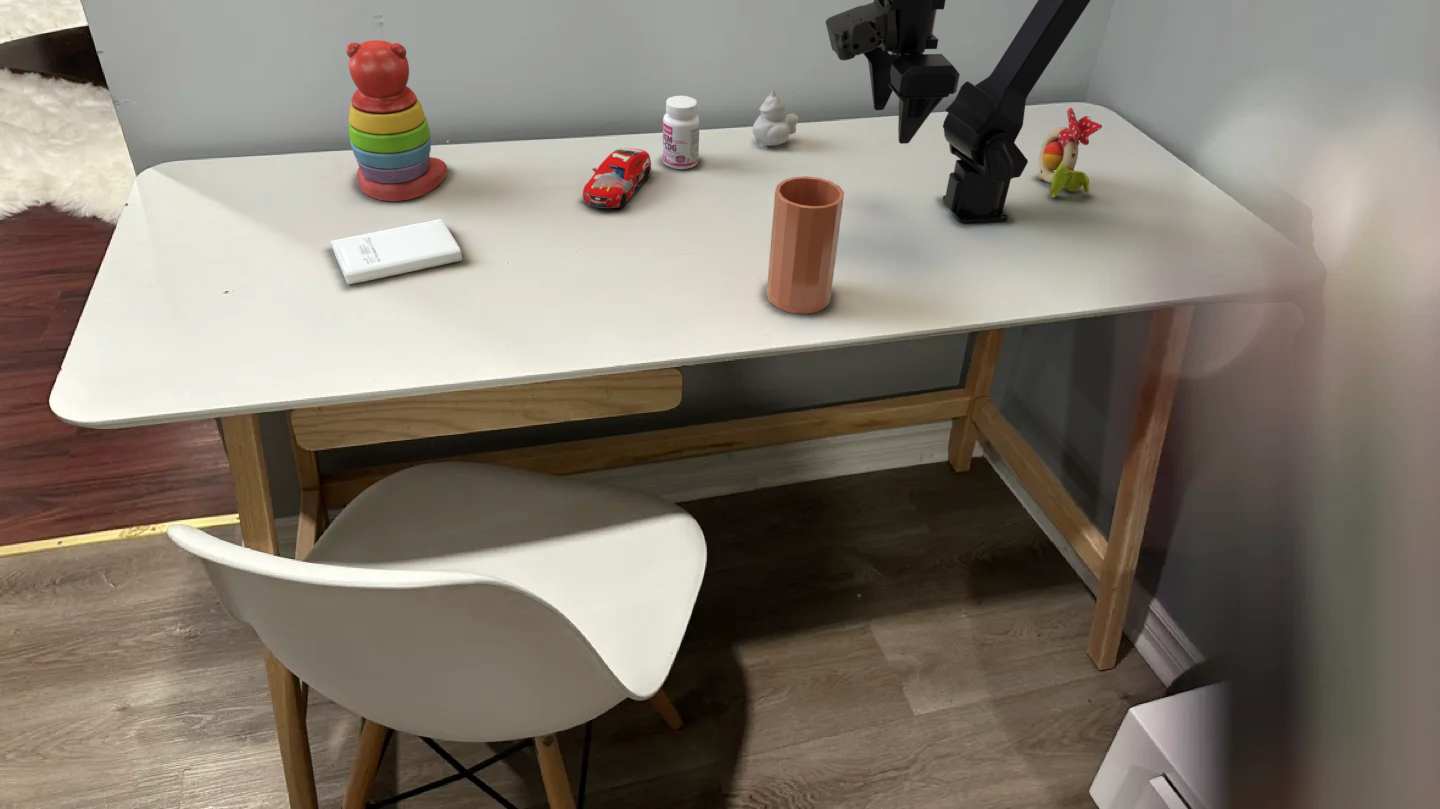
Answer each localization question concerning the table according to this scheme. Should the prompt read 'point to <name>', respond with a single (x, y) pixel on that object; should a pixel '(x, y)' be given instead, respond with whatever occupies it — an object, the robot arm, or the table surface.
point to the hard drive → (396, 251)
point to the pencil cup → (804, 244)
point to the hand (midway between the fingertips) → (890, 125)
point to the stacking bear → (389, 125)
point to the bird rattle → (1065, 154)
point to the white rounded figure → (774, 122)
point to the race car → (617, 178)
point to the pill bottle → (681, 133)
